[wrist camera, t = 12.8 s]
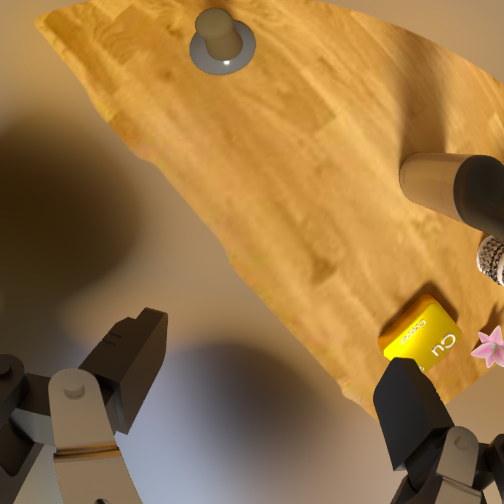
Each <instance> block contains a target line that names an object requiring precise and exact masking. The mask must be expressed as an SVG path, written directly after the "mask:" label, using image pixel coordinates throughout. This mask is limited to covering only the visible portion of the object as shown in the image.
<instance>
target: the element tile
mask: <svg viewBox="0 0 504 504" xmlns="http://www.w3.org/2000/svg"><path fill="white" fill-rule="evenodd" d="M461 336H462V332H461V330H460V328H459V327H458V326H457V325H456V323H455V322H454V321H453V320H452V318H451V317H450V316H449V315H448V314H447V312H446V311H445V310H444V309H443V308H442V306H441V305H440V304H439V303H438V302H437V301H436V300H435V299H434V298H433V297H432V296H431V295H430V294H423V295H421V296H420V297H419V298H418V299H417V300H416V301H415V302H414V303H413V304H412V305H411V306H410V307H409V308H408V309H407V310H406V311H405V312H404V313H403V314H402V315H401V316H400V317H399V318H398V319H397V320H396V321H395V322H394V323H393V324H392V325H391V326H390V327H389V328H388V329H387V330H386V331H385V332H384V333H383V334H382V335H381V336H380V337H379V339H378V345H379V348H380V350H381V352H382V354H383V356H384V357H385V358H386V359H388V360H389V361H390V362H391V360H392V359H393V358H394V357H402V358H412V359H414V360H415V361H416V363H417V365H418V366H419V368H420V370H421V372H422V373H423V374H425V373H426V372H427V371H428V370H429V369H430V368H431V367H432V366H434V365H435V364H436V363H437V362H438V361H439V360H440V359H441V358H442V357H443V356H444V355H445V354H446V353H447V352H448V351H449V350H450V349H451V348H452V347H453V346H454V345H455V344H456V343H457V342H458V341H459V340H460V338H461Z"/></svg>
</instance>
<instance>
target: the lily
mask: <svg viewBox="0 0 504 504" xmlns="http://www.w3.org/2000/svg"><path fill="white" fill-rule="evenodd" d="M478 334H479V337H480V340H481V342H482V345H480V346H479V347H478V348H476V349H475V350H474V351H473V352H472V353H471V355H472V356H475V357H478V358H486V365H487V368H490V367H491V366H492V365H493V363H494V362H496V363H497V364H498V365H500V366H502V367H504V341H502V333H501V328H500V326H499V325H498V326H497V327H496V328H495V329H494V331H493V332H492V333H491V335H490V337H489V336H488V335H486V334H484V333H482V332H478Z"/></svg>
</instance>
